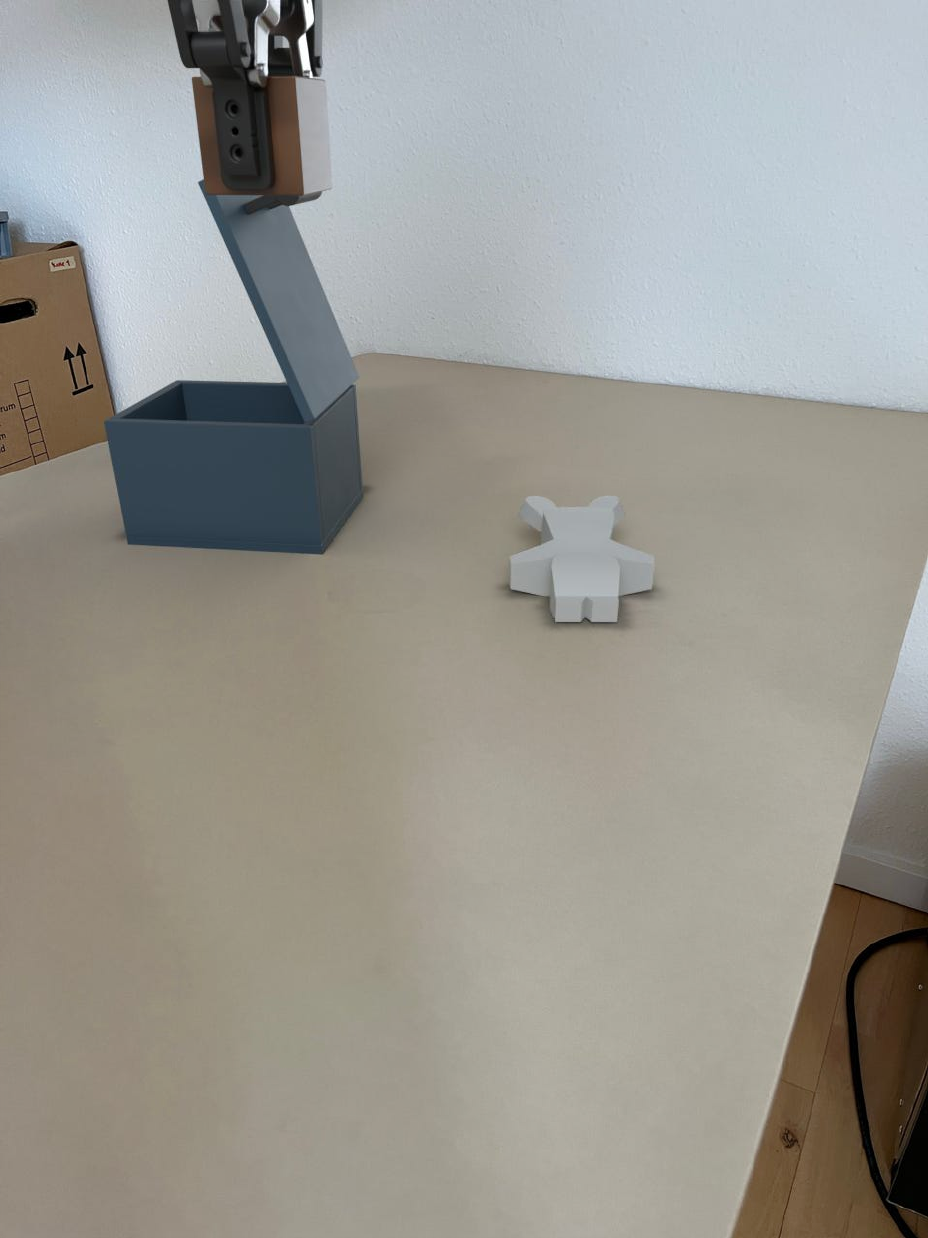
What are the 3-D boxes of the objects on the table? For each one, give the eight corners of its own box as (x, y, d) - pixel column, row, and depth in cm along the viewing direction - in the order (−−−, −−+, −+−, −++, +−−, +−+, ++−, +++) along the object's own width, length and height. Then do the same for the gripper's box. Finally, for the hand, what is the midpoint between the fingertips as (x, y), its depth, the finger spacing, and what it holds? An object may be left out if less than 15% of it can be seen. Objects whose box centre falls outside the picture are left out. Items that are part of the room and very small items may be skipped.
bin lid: (197, 181, 60) (265, 150, 58) (264, 173, 71) (323, 146, 69) (304, 423, 66) (368, 400, 64) (351, 380, 77) (406, 360, 76)
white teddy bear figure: (510, 579, 57) (508, 471, 69) (509, 647, 60) (507, 532, 72) (667, 579, 57) (637, 471, 69) (659, 647, 60) (631, 532, 72)
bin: (127, 545, 73) (103, 420, 68) (193, 490, 84) (176, 379, 79) (321, 555, 71) (310, 427, 66) (363, 497, 82) (355, 384, 77)
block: (204, 194, 41) (190, 76, 39) (242, 188, 45) (231, 80, 43) (303, 195, 41) (294, 75, 38) (332, 188, 44) (326, 79, 42)
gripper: (205, -251, 41) (247, 177, 49) (20, -410, 29) (117, 196, 37) (370, -261, 40) (386, 178, 48) (252, -431, 28) (300, 198, 36)
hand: (269, 183), depth 43 cm, fingers closed on block, 4 cm apart
